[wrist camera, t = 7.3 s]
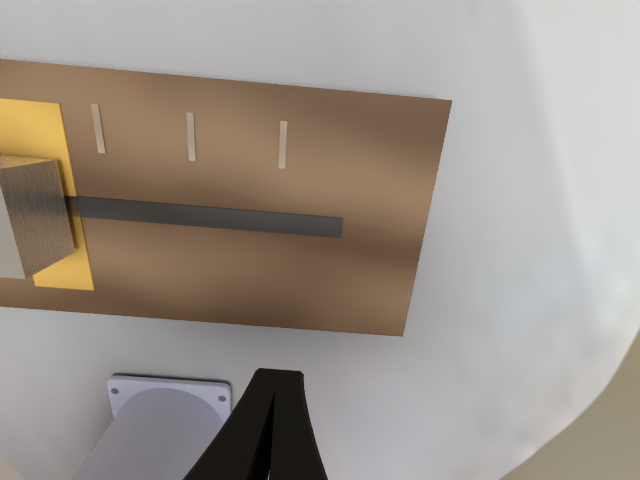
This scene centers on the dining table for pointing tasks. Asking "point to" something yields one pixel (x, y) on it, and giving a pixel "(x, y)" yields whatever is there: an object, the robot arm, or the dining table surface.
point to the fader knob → (31, 216)
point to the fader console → (227, 196)
